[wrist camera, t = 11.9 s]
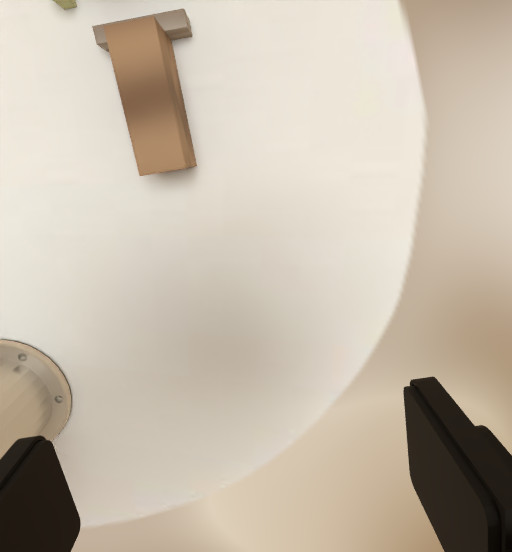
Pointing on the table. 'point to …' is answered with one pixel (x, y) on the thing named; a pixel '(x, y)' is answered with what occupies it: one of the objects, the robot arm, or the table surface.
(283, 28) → the table surface
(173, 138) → the scraper
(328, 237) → the table surface
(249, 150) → the table surface
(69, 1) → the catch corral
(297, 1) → the table surface
